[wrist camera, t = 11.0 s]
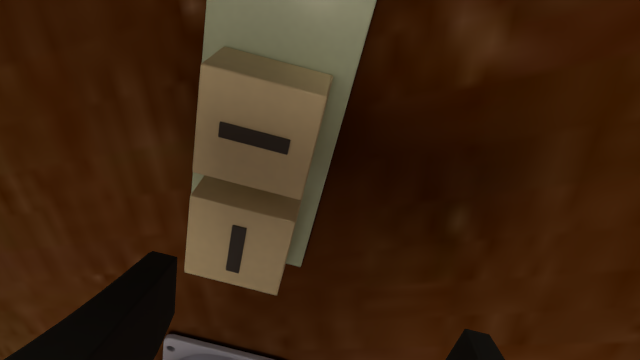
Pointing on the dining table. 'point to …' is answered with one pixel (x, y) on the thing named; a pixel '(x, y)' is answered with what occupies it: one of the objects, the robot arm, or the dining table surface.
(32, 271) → the dining table surface
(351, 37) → the word board
